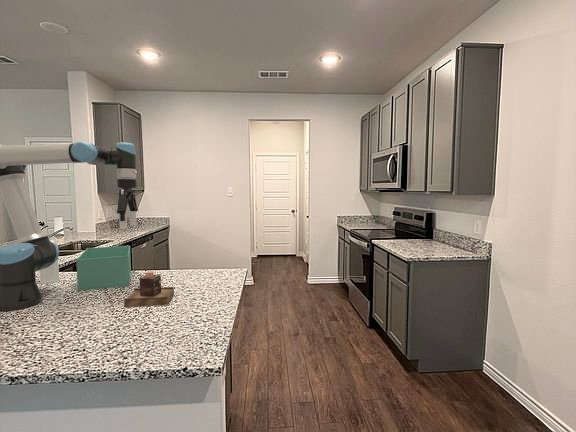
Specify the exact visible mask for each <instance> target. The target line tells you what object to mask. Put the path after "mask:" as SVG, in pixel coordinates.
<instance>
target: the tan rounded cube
mask: <svg viewBox="0 0 576 432" xmlns="http://www.w3.org/2000/svg"><path fill="white" fill-rule="evenodd" d="M144 272H145V273H144V276H146V278H151V277H154V275H155V274H154V270H147V271H144Z"/></svg>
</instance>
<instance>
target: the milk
mask: <svg viewBox="0 0 576 432" xmlns="http://www.w3.org/2000/svg"><path fill="white" fill-rule="evenodd" d="M48 237H49V236H48ZM49 240H50V241H51V242H53V243H55V244H56V245H57V247H58V242H57V241H56V238H55V237H54V236H53V237H52V236H51V237H49ZM58 248H59V247H58ZM59 264H60V263H59V258H58V259H57V260H56V262H55V263H54V264H52V265H51V266H49V267H47V268H45V269H41V270H39V283H40V285H43V284H44V285H45V284H56V283H57V282H58V281H60V268H59Z"/></svg>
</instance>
